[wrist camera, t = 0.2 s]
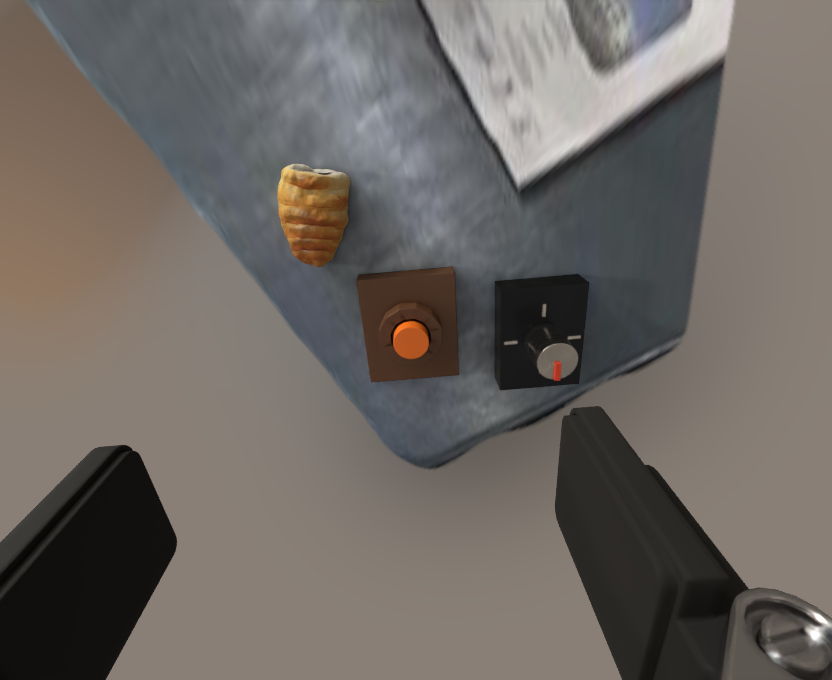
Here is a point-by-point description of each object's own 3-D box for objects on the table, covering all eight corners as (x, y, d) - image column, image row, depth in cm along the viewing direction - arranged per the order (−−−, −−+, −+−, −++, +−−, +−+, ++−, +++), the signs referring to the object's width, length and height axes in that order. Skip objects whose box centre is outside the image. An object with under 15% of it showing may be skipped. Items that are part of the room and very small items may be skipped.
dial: (524, 324, 45) (539, 346, 40) (562, 321, 45) (581, 342, 40) (523, 357, 47) (537, 382, 42) (559, 354, 47) (577, 379, 42)
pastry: (348, 265, 45) (343, 275, 41) (282, 258, 44) (272, 268, 41) (352, 169, 41) (347, 172, 37) (280, 161, 40) (268, 163, 37)
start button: (391, 321, 44) (391, 328, 42) (426, 318, 44) (427, 325, 42) (395, 352, 45) (395, 360, 44) (429, 349, 45) (430, 357, 44)
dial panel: (494, 281, 46) (501, 290, 43) (578, 273, 46) (589, 282, 43) (494, 377, 51) (500, 391, 48) (569, 370, 51) (579, 384, 48)
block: (358, 274, 45) (354, 286, 42) (452, 266, 45) (456, 277, 42) (372, 372, 50) (370, 391, 47) (456, 365, 50) (461, 383, 47)
